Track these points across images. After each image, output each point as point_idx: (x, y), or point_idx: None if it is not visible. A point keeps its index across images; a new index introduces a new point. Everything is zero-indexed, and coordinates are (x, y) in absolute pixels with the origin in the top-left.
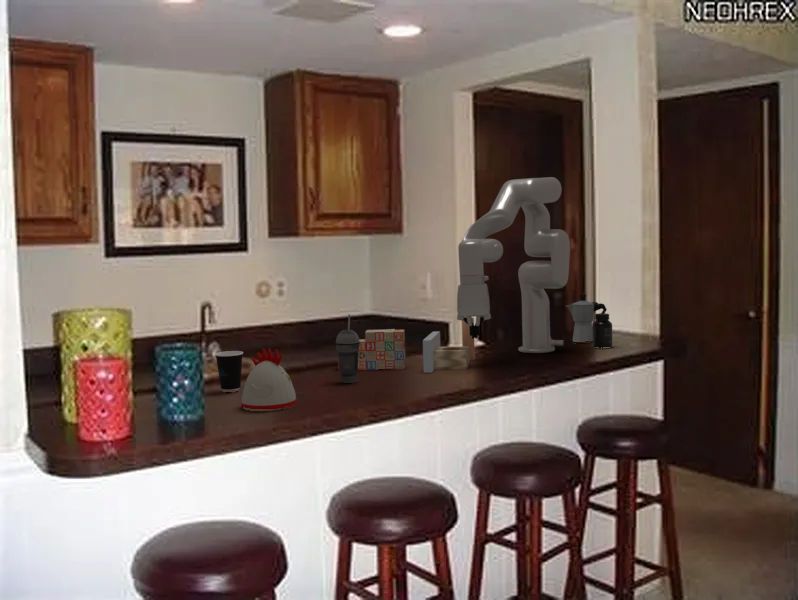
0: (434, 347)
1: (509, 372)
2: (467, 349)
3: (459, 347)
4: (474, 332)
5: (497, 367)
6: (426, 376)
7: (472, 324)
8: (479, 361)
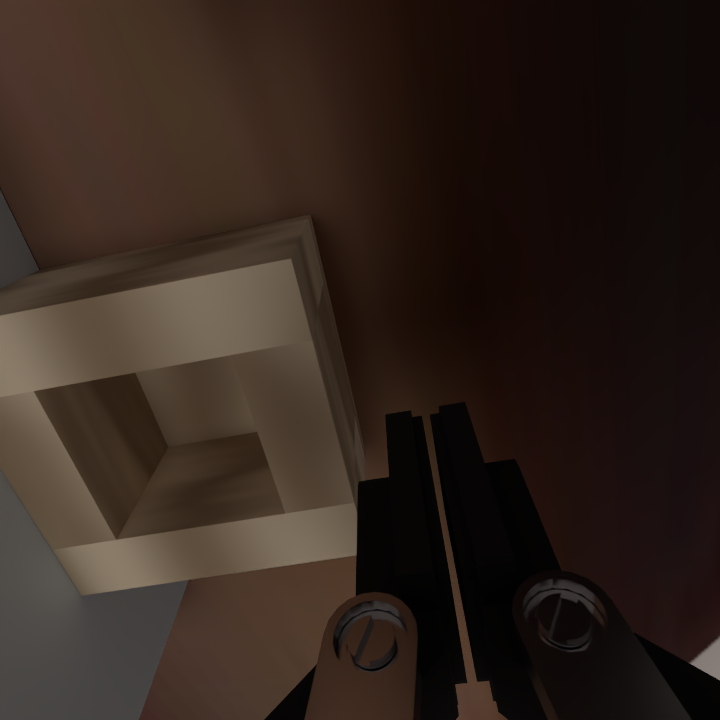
0: (38, 575)
1: (681, 500)
2: (329, 395)
3: (210, 357)
4: (459, 586)
5: (590, 336)
6: (218, 657)
7: (445, 713)
8: (361, 5)
